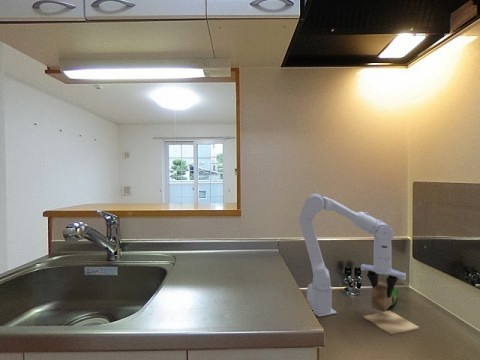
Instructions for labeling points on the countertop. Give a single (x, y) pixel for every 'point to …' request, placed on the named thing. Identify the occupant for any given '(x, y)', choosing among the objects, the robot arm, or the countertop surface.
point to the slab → (381, 297)
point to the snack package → (394, 295)
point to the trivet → (391, 322)
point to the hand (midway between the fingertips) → (382, 294)
